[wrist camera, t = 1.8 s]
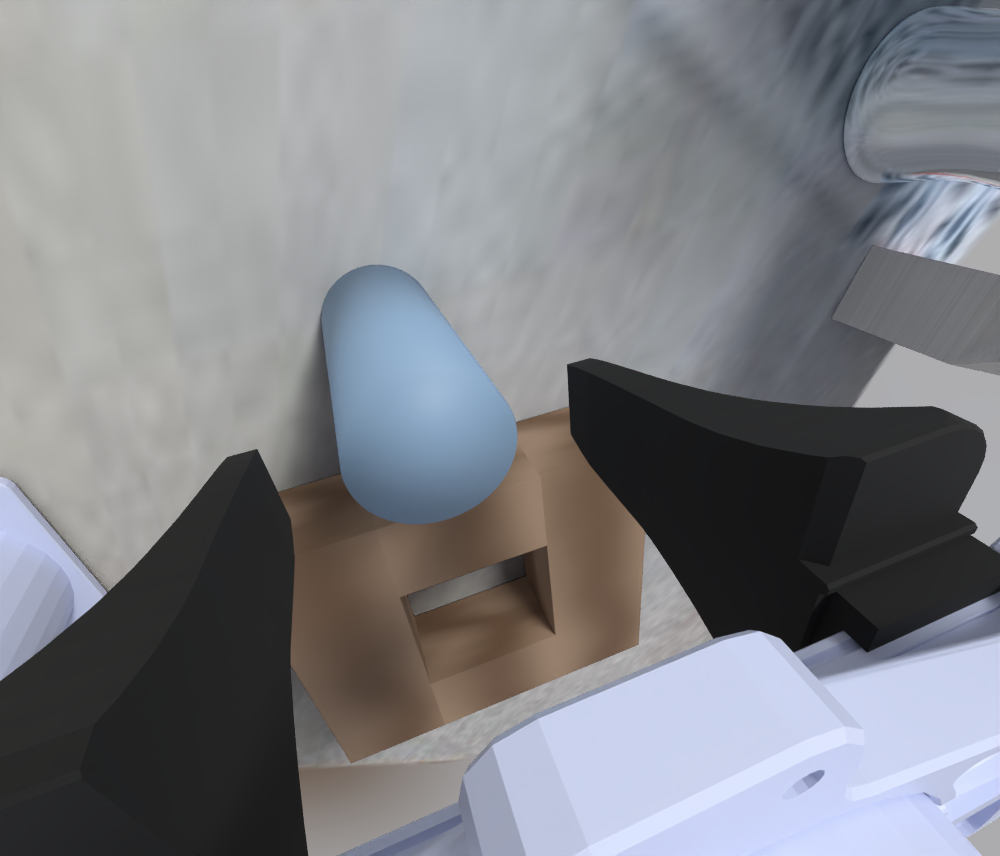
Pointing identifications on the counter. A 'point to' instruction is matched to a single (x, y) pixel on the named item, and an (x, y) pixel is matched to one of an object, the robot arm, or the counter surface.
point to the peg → (410, 402)
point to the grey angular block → (927, 308)
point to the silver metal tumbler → (930, 101)
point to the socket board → (470, 621)
